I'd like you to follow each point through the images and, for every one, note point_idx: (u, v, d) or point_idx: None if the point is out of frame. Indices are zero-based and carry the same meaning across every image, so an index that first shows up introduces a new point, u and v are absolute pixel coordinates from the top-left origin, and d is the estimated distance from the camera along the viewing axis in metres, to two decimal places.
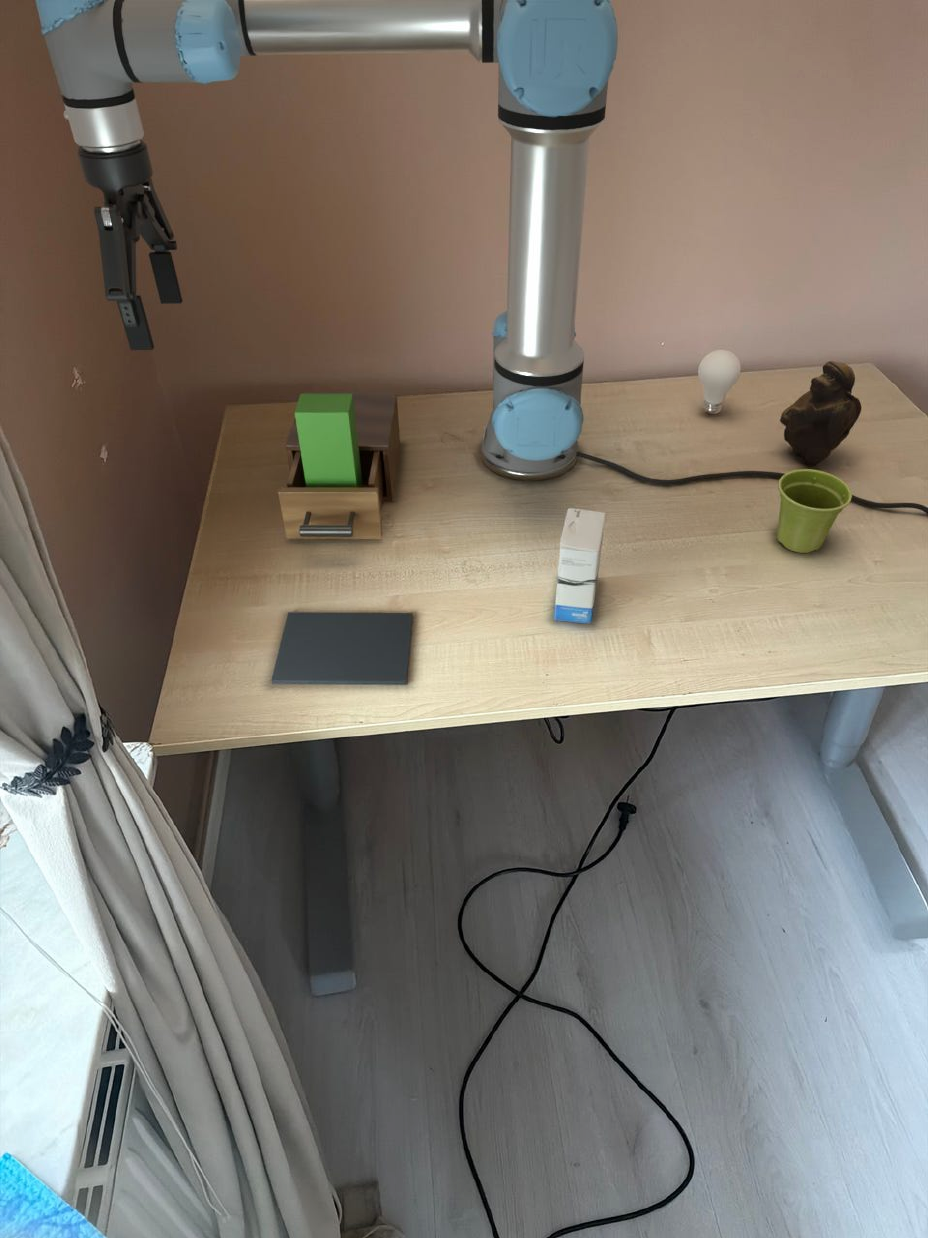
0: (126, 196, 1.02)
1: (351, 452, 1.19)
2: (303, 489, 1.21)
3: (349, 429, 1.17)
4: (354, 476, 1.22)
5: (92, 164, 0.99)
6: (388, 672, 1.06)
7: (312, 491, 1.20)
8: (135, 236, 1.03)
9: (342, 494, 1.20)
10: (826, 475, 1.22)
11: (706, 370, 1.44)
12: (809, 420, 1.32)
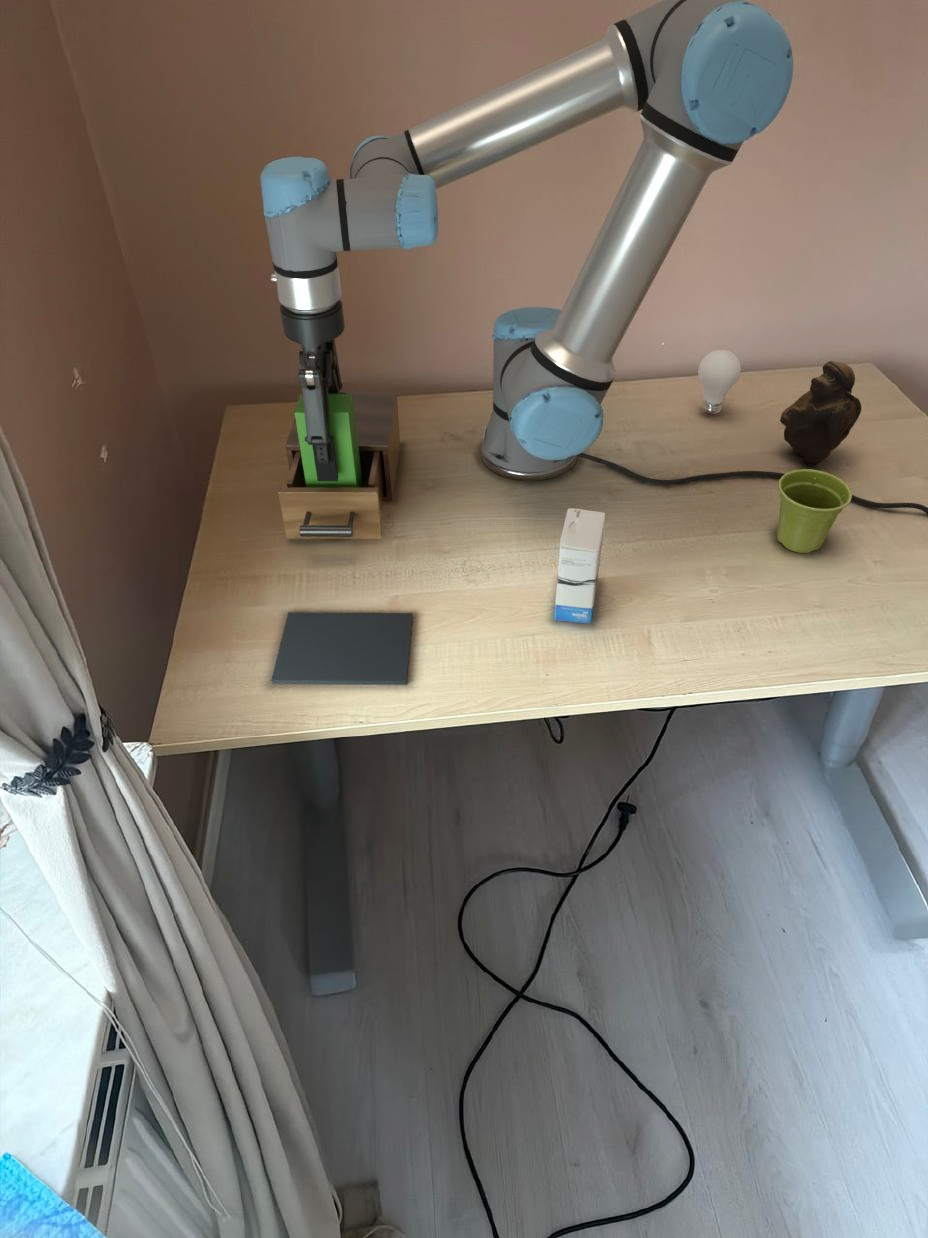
0: (321, 348, 1.09)
1: (351, 452, 1.19)
2: (303, 489, 1.21)
3: (349, 429, 1.17)
4: (354, 476, 1.22)
5: (297, 324, 1.06)
6: (388, 672, 1.06)
7: (312, 491, 1.20)
8: (329, 385, 1.12)
9: (342, 494, 1.20)
10: (826, 475, 1.22)
11: (706, 370, 1.44)
12: (809, 420, 1.32)
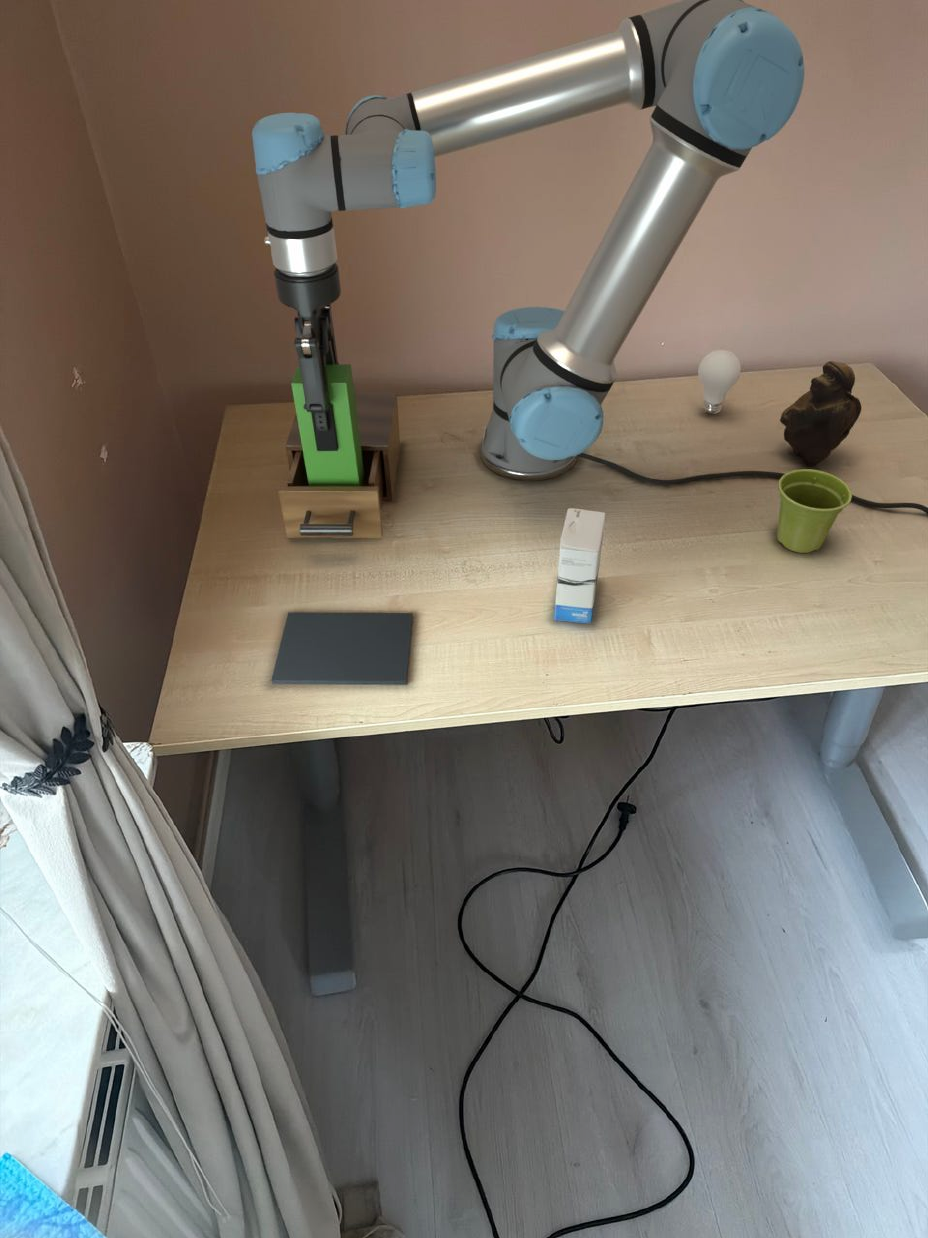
0: (317, 313, 1.06)
1: (350, 424, 1.16)
2: (303, 488, 1.21)
3: (347, 400, 1.14)
4: (353, 449, 1.19)
5: (291, 288, 1.03)
6: (388, 672, 1.06)
7: (312, 490, 1.21)
8: (326, 352, 1.10)
9: (342, 493, 1.20)
10: (826, 475, 1.22)
11: (706, 370, 1.44)
12: (809, 420, 1.32)
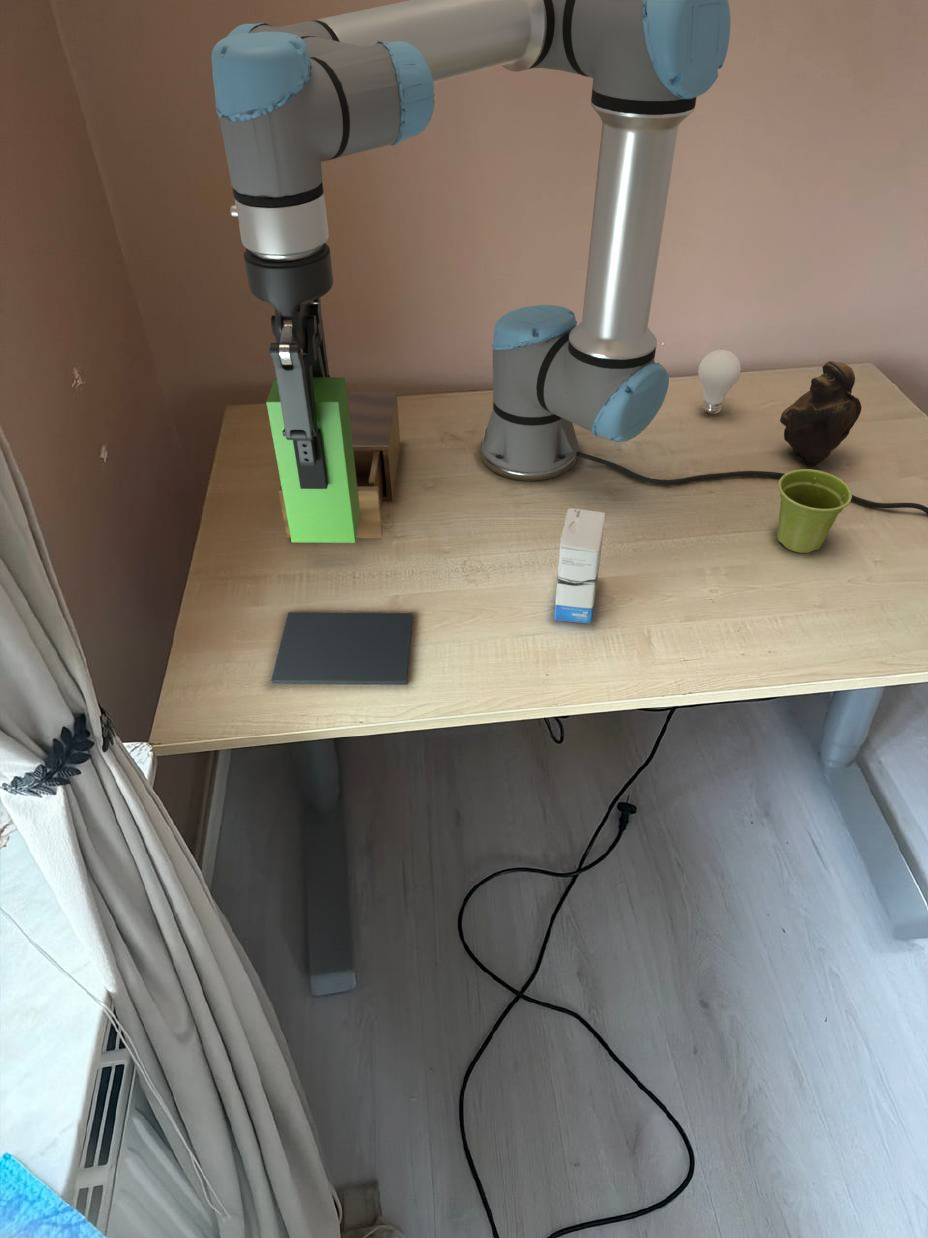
0: (300, 310, 0.79)
1: (343, 455, 0.90)
2: None
3: (340, 424, 0.87)
4: (347, 487, 0.92)
5: (266, 275, 0.77)
6: (388, 672, 1.06)
7: None
8: (313, 362, 0.83)
9: None
10: (826, 475, 1.22)
11: (706, 370, 1.44)
12: (809, 420, 1.32)
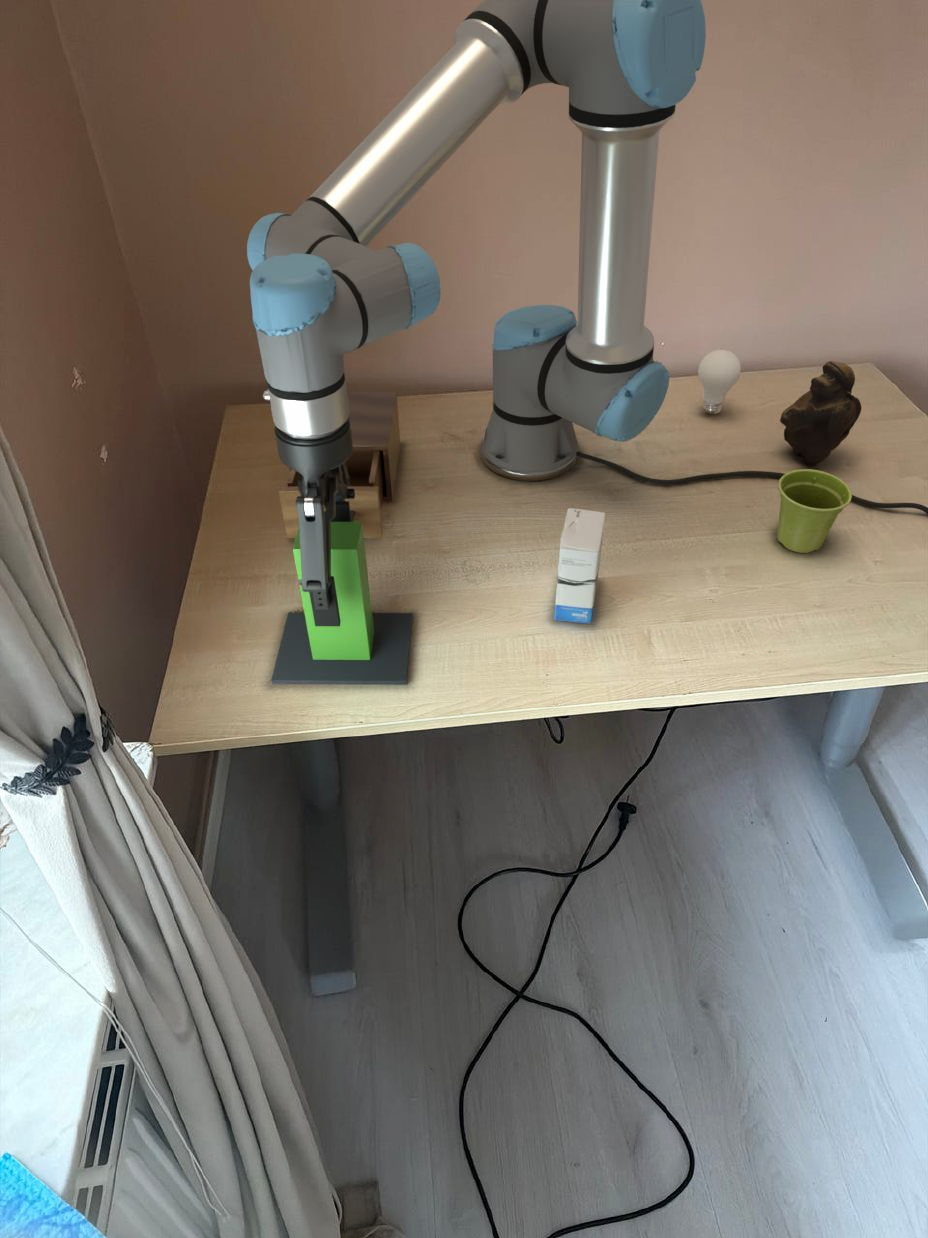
0: (325, 476, 0.91)
1: (360, 591, 1.01)
2: None
3: (358, 567, 0.98)
4: (363, 616, 1.03)
5: (295, 451, 0.87)
6: (388, 672, 1.06)
7: None
8: (332, 516, 0.92)
9: None
10: (826, 475, 1.22)
11: (706, 370, 1.44)
12: (809, 420, 1.32)
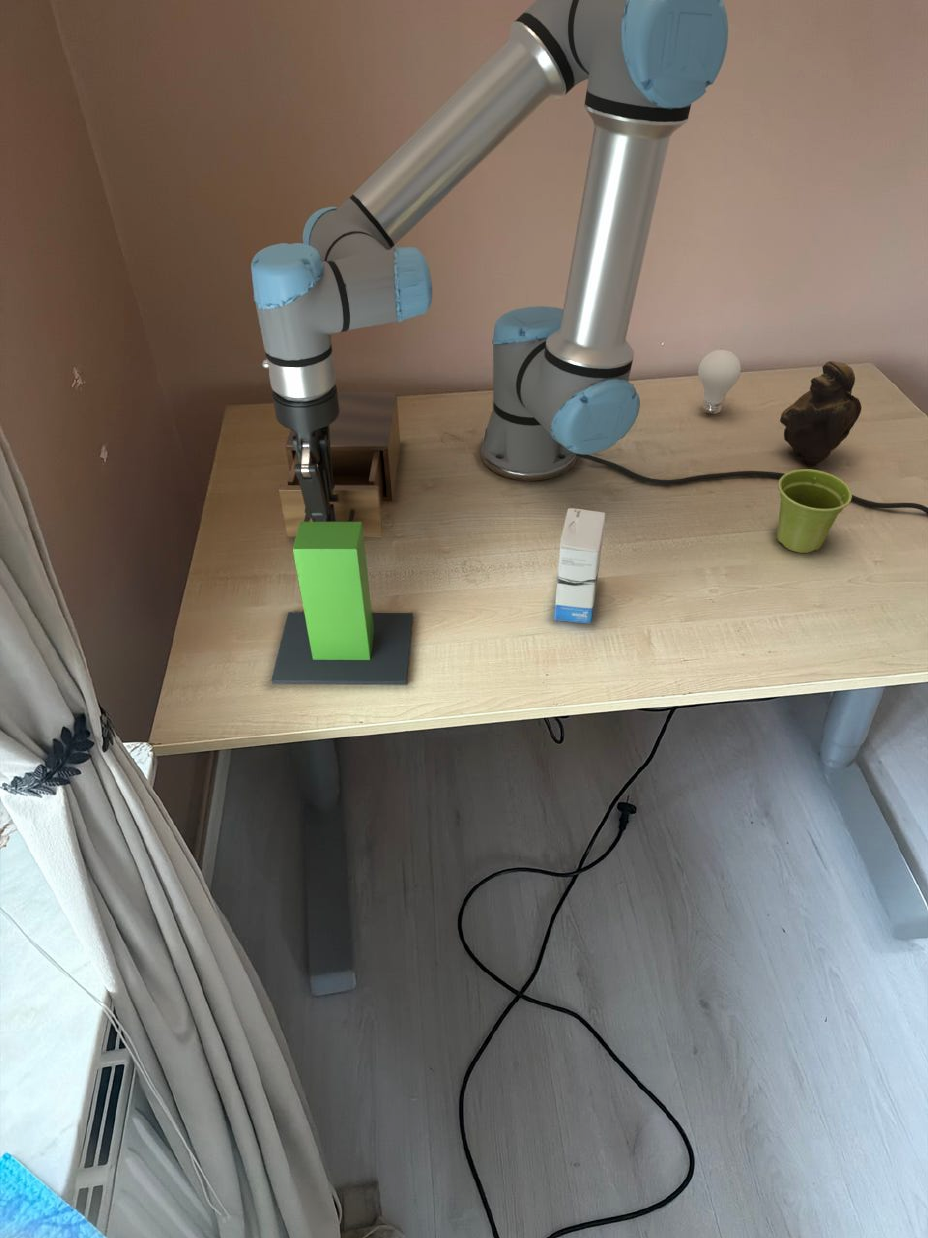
0: (315, 435, 1.05)
1: (360, 591, 1.01)
2: None
3: (358, 567, 0.98)
4: (363, 616, 1.03)
5: (290, 411, 1.02)
6: (388, 672, 1.06)
7: None
8: (326, 467, 1.10)
9: (342, 492, 1.21)
10: (826, 475, 1.22)
11: (706, 370, 1.44)
12: (809, 420, 1.32)
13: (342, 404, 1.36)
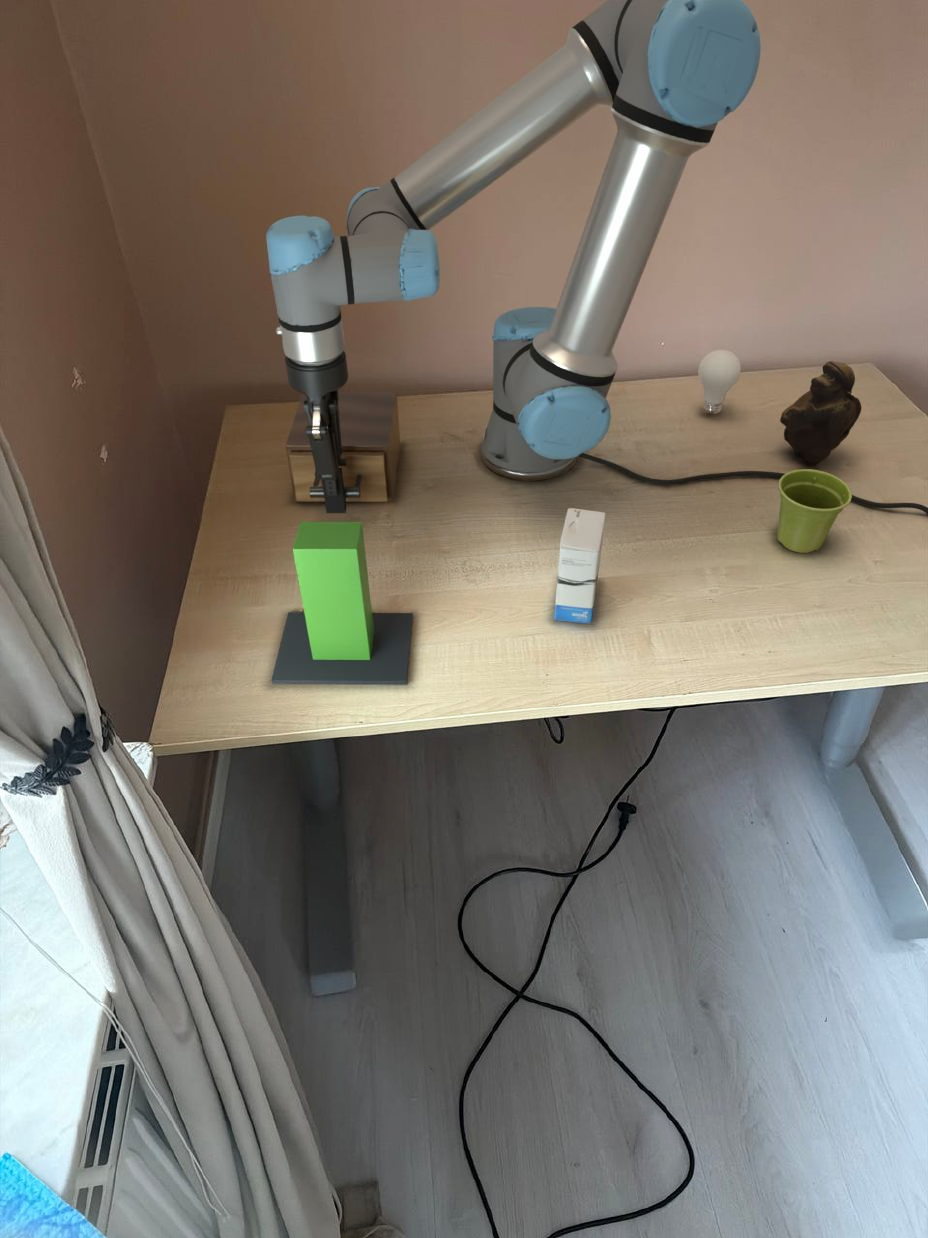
0: (325, 398, 1.11)
1: (360, 591, 1.01)
2: None
3: (358, 567, 0.98)
4: (363, 616, 1.03)
5: (302, 375, 1.09)
6: (388, 672, 1.06)
7: None
8: (335, 431, 1.16)
9: (350, 457, 1.27)
10: (826, 475, 1.22)
11: (706, 370, 1.44)
12: (809, 420, 1.32)
13: (342, 404, 1.36)
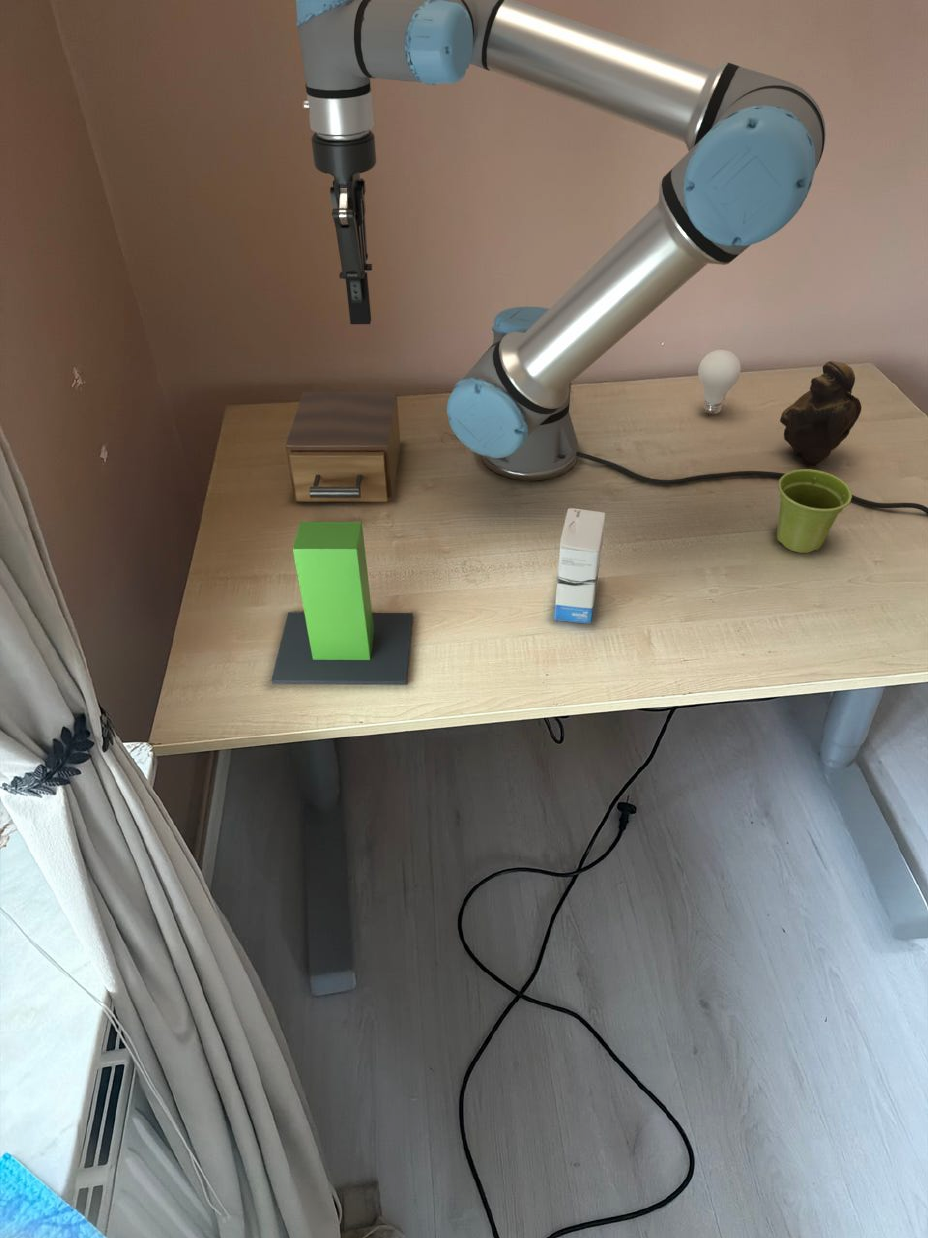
0: (352, 181, 1.08)
1: (360, 591, 1.01)
2: (313, 453, 1.27)
3: (358, 567, 0.98)
4: (363, 616, 1.03)
5: (329, 151, 1.05)
6: (388, 672, 1.06)
7: (321, 455, 1.27)
8: (361, 223, 1.12)
9: (350, 457, 1.27)
10: (826, 475, 1.22)
11: (706, 370, 1.44)
12: (809, 420, 1.32)
13: (342, 404, 1.36)
